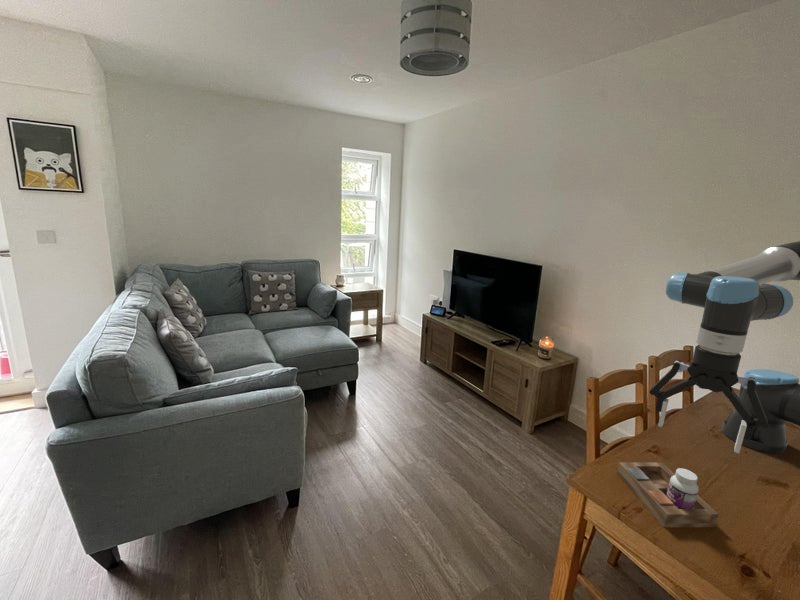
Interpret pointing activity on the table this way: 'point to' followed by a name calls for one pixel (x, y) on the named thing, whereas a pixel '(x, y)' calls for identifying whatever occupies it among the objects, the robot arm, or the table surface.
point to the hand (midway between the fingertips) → (696, 436)
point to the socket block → (663, 495)
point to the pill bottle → (683, 489)
